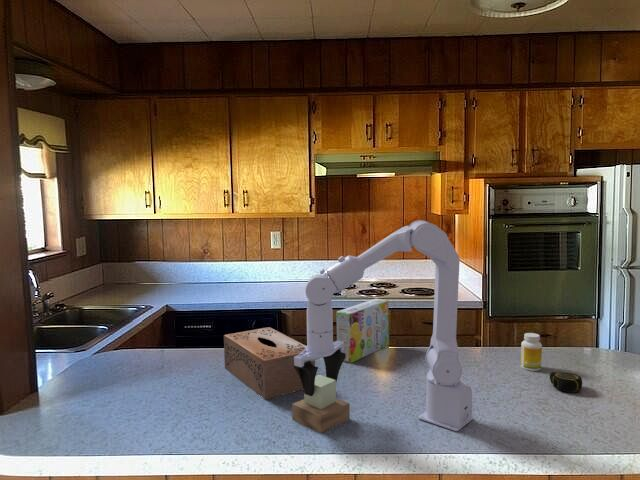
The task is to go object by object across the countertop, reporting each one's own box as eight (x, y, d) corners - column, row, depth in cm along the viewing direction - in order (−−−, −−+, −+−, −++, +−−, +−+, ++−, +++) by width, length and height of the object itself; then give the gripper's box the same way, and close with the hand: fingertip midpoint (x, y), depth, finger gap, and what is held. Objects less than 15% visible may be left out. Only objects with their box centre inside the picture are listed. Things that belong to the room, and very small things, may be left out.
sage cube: (335, 401, 114) (335, 380, 113) (321, 409, 110) (320, 387, 109) (319, 395, 117) (319, 374, 116) (304, 402, 113) (303, 381, 113)
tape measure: (577, 385, 131) (578, 371, 130) (584, 396, 124) (585, 381, 124) (549, 383, 132) (549, 369, 132) (554, 393, 126) (555, 379, 125)
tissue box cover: (315, 387, 132) (314, 350, 131) (264, 400, 124) (263, 360, 123) (270, 359, 153) (269, 327, 152) (224, 369, 146) (223, 335, 145)
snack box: (375, 342, 168) (375, 297, 166) (389, 345, 164) (390, 300, 163) (335, 360, 152) (335, 310, 150) (351, 364, 148) (351, 313, 146)
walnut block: (349, 420, 113) (349, 403, 113) (320, 434, 107) (320, 416, 107) (321, 408, 120) (320, 392, 119) (292, 421, 113) (292, 403, 113)
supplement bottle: (516, 365, 145) (517, 332, 144) (533, 363, 146) (534, 331, 145) (528, 372, 140) (529, 338, 139) (545, 370, 141) (546, 336, 140)
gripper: (327, 319, 120) (327, 375, 121) (283, 333, 109) (284, 394, 111) (351, 325, 115) (351, 382, 117) (307, 340, 105) (308, 403, 106)
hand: (320, 389), depth 113 cm, fingers open, 7 cm apart
